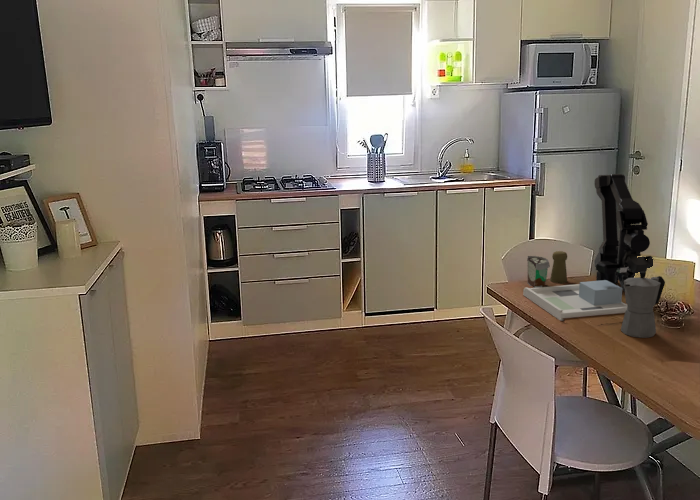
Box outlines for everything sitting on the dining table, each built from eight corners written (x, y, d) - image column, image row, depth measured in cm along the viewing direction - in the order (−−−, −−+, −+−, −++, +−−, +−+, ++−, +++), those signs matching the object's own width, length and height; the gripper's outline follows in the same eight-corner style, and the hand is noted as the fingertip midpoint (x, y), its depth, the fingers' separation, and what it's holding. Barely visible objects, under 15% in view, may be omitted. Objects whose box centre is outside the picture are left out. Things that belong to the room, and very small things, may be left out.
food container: (553, 291, 221) (554, 263, 219) (535, 292, 221) (536, 264, 219) (543, 281, 233) (544, 255, 231) (526, 281, 233) (527, 255, 231)
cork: (565, 278, 236) (566, 249, 234) (569, 283, 230) (570, 253, 228) (548, 278, 237) (549, 249, 234) (551, 283, 231) (553, 253, 228)
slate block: (605, 294, 214) (606, 280, 213) (621, 302, 205) (622, 288, 204) (578, 296, 212) (579, 282, 211) (593, 305, 203) (594, 290, 202)
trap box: (593, 289, 222) (594, 280, 222) (639, 313, 197) (639, 304, 196) (523, 295, 218) (523, 286, 218) (560, 320, 193) (561, 311, 192)
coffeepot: (634, 341, 175) (639, 279, 171) (608, 331, 184) (612, 271, 179) (674, 332, 181) (679, 271, 177) (646, 322, 190) (651, 263, 186)
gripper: (616, 252, 197) (612, 300, 200) (670, 248, 200) (666, 296, 203) (596, 244, 207) (593, 290, 211) (648, 240, 210) (644, 286, 214)
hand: (624, 291), depth 209 cm, fingers closed
